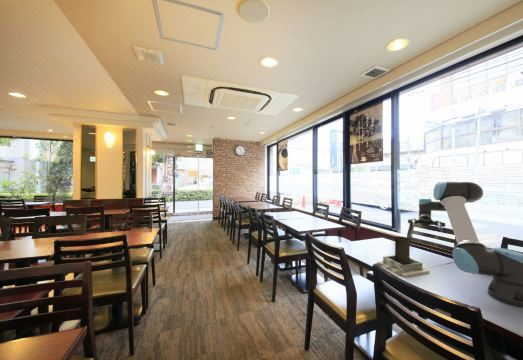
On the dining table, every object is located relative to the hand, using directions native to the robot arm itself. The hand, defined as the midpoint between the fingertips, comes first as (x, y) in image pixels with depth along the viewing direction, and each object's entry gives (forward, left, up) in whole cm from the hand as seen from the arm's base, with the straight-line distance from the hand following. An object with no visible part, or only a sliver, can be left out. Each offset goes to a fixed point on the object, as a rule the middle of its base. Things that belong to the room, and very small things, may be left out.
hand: (426, 225), depth 140 cm
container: (+1, +19, -26) cm, 32 cm away
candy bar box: (-16, -24, -27) cm, 40 cm away
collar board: (+1, +19, -27) cm, 33 cm away
